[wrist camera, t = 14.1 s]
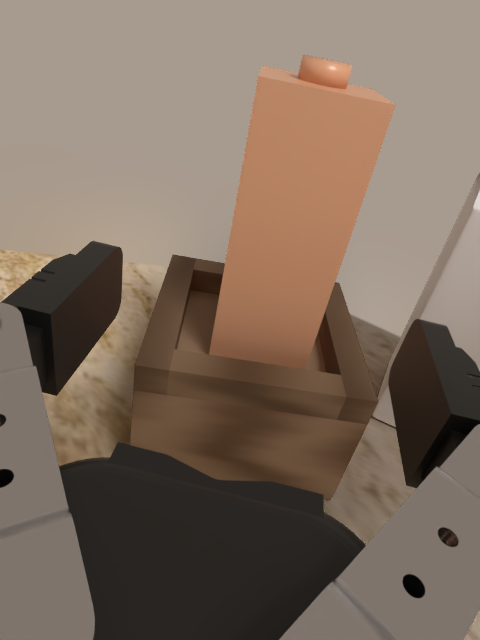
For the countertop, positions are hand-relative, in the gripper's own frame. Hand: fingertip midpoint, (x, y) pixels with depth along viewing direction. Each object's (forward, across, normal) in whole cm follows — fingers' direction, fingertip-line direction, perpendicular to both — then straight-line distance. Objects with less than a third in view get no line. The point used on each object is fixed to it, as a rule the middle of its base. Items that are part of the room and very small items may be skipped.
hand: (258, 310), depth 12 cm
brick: (+10, 0, +8) cm, 13 cm away
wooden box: (+10, 0, +14) cm, 17 cm away
